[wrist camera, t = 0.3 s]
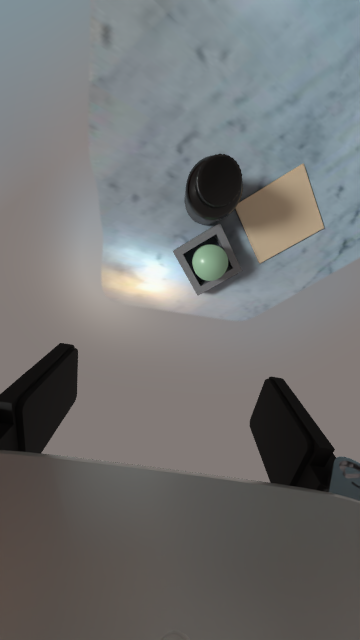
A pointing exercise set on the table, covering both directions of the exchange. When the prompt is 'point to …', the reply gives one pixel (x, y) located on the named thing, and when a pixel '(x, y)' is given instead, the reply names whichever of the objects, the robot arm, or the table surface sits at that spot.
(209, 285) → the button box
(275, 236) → the beige square board
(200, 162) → the supplement bottle
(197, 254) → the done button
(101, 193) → the table surface
